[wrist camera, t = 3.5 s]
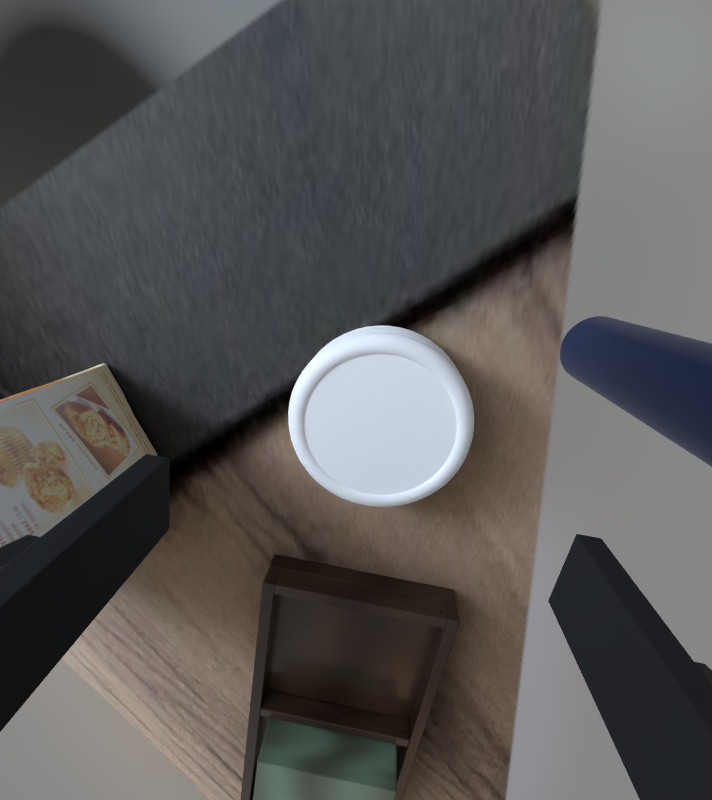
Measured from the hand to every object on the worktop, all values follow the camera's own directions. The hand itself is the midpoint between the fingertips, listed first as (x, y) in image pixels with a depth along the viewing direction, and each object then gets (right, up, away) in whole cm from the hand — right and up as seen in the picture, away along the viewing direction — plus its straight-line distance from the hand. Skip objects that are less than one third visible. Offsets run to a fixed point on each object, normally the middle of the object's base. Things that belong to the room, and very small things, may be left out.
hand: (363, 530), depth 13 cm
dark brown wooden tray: (-2, -20, +20) cm, 28 cm away
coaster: (+1, +4, +11) cm, 12 cm away
